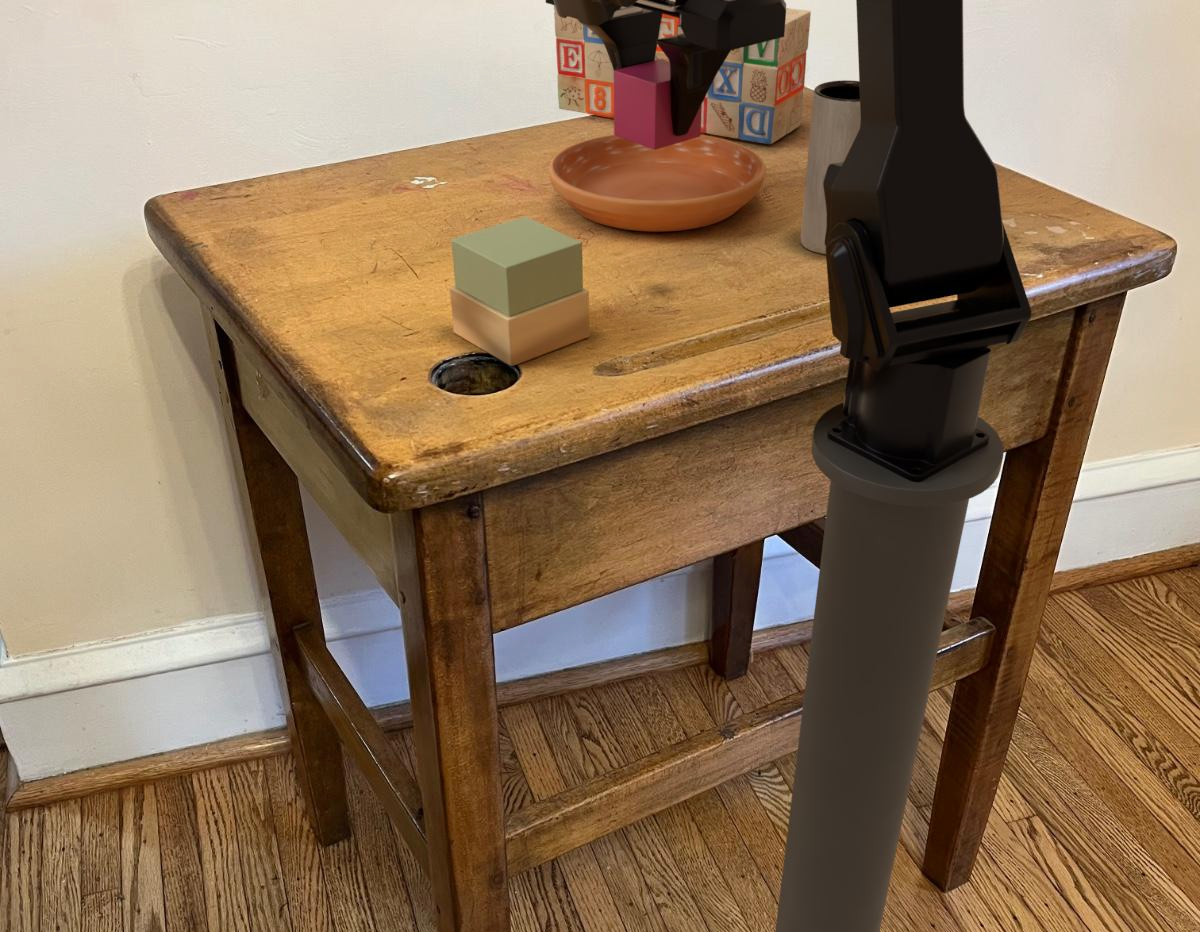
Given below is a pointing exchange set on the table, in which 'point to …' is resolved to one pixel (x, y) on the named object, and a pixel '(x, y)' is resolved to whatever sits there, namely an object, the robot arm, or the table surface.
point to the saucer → (657, 182)
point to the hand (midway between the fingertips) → (657, 127)
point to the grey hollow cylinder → (827, 151)
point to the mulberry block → (647, 106)
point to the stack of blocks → (736, 96)
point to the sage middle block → (517, 265)
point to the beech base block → (521, 326)
